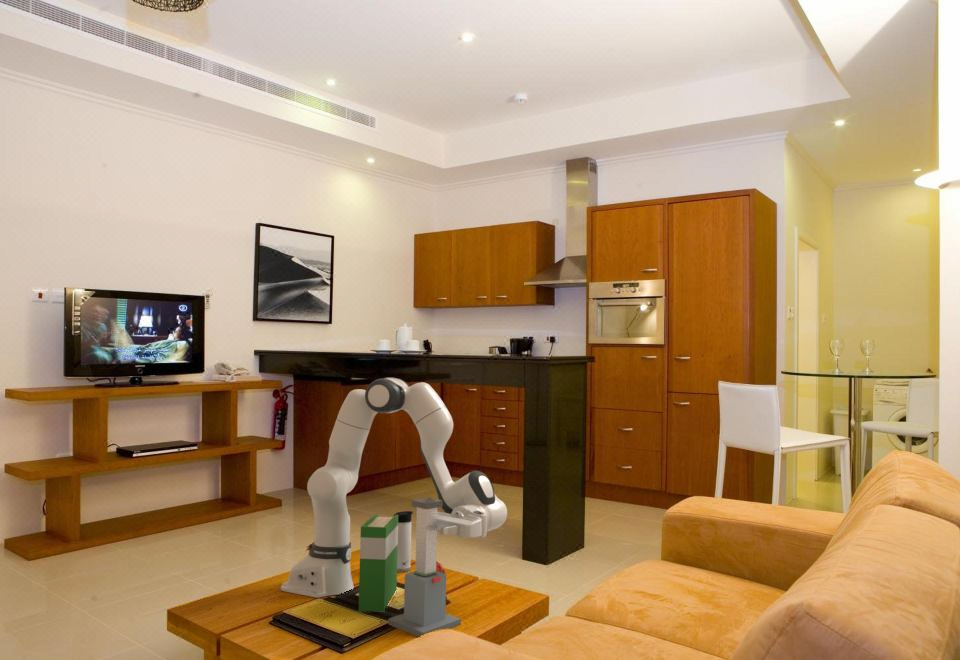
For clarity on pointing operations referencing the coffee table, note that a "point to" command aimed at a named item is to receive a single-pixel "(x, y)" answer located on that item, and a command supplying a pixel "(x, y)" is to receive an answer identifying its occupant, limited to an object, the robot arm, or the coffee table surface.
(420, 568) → the steel column
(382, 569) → the hardback book
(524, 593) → the coffee table surface
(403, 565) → the travel mug
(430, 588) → the stand sleeve
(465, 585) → the coffee table surface
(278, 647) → the coffee table surface
